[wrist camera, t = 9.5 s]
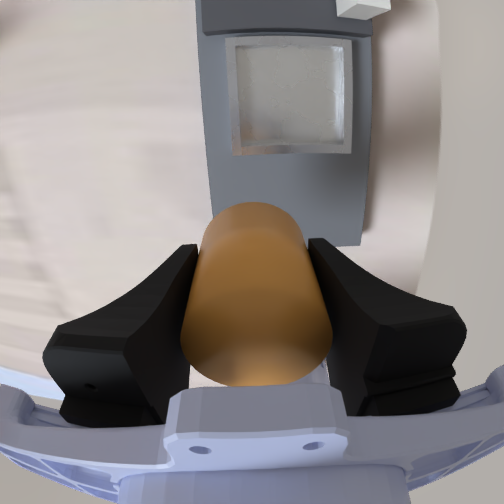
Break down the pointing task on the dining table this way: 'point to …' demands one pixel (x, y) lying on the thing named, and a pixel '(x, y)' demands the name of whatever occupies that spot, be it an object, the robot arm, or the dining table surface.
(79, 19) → the dining table surface
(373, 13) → the lever
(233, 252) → the cap
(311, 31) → the breaker panel
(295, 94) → the frame
